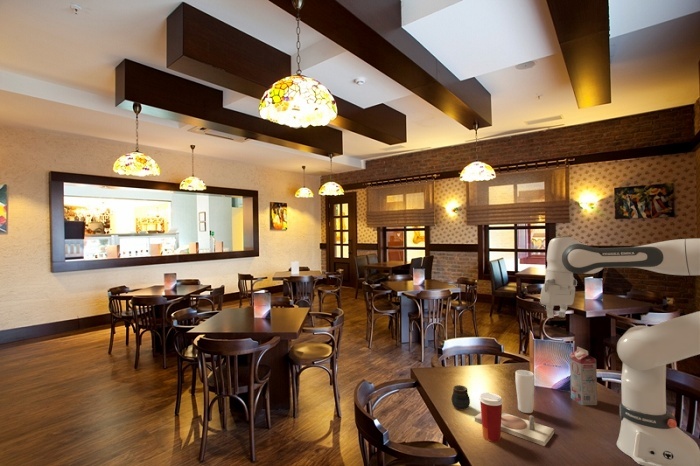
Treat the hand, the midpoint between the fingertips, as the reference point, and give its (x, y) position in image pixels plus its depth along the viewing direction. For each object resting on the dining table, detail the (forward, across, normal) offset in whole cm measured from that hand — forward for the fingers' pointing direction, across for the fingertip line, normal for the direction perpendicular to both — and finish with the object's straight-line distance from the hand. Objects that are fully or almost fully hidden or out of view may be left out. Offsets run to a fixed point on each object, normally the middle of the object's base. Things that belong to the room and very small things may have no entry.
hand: (556, 317), depth 132 cm
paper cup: (+43, -22, +9) cm, 49 cm away
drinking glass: (+40, +5, +11) cm, 42 cm away
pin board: (+41, -10, +8) cm, 43 cm away
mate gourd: (+42, -12, +29) cm, 53 cm away
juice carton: (+36, +32, 0) cm, 49 cm away
